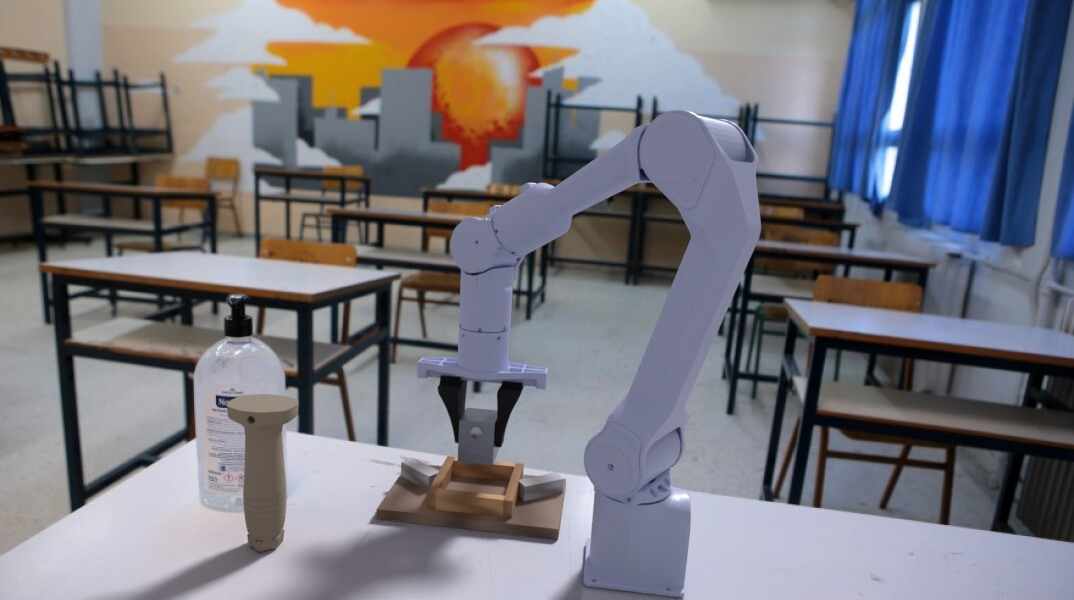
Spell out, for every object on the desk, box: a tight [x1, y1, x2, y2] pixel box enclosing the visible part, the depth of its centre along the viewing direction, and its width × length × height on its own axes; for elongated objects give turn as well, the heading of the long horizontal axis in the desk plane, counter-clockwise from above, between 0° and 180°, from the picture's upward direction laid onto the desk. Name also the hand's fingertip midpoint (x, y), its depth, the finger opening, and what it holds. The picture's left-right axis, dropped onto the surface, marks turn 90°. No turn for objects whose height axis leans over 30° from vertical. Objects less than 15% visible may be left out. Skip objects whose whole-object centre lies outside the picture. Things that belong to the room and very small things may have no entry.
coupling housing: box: [375, 455, 567, 540], centre depth 79 cm, size 20×12×3 cm, turn 84°
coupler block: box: [457, 407, 500, 466], centre depth 77 cm, size 4×5×5 cm
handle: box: [226, 393, 299, 553], centre depth 67 cm, size 5×6×15 cm
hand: (479, 441), depth 77 cm, fingers closed on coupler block, 4 cm apart
